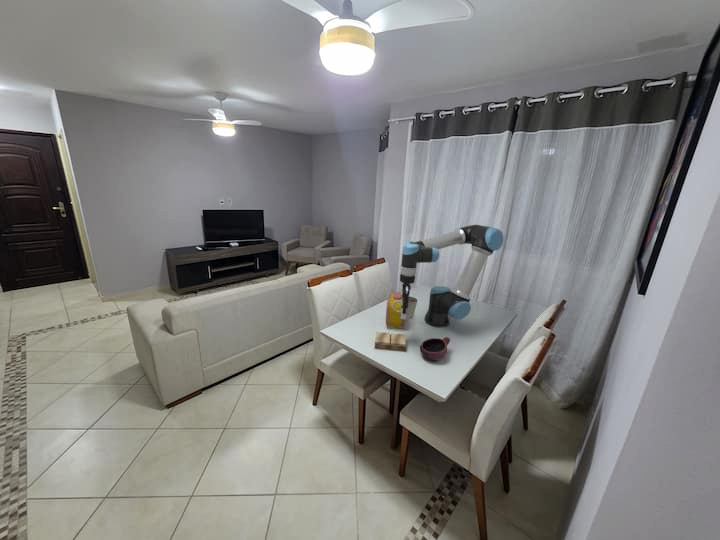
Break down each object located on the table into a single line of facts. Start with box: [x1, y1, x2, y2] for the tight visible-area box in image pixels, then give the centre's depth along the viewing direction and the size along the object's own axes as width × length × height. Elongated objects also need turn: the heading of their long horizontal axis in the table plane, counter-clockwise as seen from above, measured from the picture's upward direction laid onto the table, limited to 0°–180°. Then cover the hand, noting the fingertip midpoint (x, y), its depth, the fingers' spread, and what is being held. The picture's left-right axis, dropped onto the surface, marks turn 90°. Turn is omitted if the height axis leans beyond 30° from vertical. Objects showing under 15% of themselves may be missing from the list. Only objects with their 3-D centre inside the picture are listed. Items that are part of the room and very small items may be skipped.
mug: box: [392, 295, 418, 320], centre depth 142 cm, size 8×13×10 cm, turn 78°
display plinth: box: [374, 331, 407, 353], centre depth 144 cm, size 16×11×4 cm
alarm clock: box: [385, 291, 406, 329], centre depth 165 cm, size 18×11×19 cm, turn 168°
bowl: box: [419, 336, 451, 361], centre depth 136 cm, size 16×13×8 cm
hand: (403, 315), depth 143 cm, fingers closed on mug, 6 cm apart
